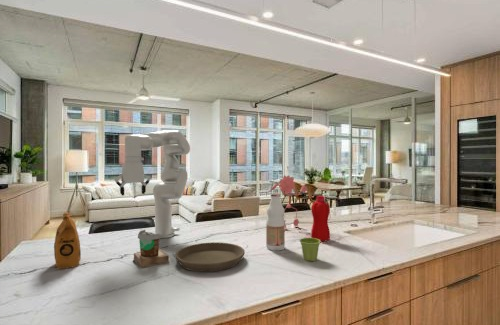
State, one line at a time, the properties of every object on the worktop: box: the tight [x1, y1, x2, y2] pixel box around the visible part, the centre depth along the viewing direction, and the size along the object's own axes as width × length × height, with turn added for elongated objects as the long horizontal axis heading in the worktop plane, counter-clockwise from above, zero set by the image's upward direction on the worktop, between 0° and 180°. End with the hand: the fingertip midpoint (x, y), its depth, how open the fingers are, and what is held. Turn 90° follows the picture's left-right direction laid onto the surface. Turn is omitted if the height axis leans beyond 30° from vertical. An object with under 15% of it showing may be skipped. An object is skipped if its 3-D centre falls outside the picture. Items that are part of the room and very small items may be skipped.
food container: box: [137, 229, 161, 257], centre depth 129 cm, size 12×6×10 cm, turn 51°
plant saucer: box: [174, 242, 245, 273], centre depth 132 cm, size 31×31×5 cm
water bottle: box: [310, 195, 331, 243], centre depth 165 cm, size 9×11×25 cm
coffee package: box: [53, 212, 82, 270], centre depth 127 cm, size 10×12×22 cm
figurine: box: [269, 175, 308, 231], centre depth 196 cm, size 15×26×35 cm, turn 113°
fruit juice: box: [265, 192, 286, 251], centre depth 150 cm, size 9×9×28 cm
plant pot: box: [299, 237, 321, 262], centre depth 133 cm, size 9×9×9 cm
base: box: [133, 248, 170, 269], centre depth 131 cm, size 12×12×3 cm
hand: (133, 194), depth 144 cm, fingers open, 9 cm apart
